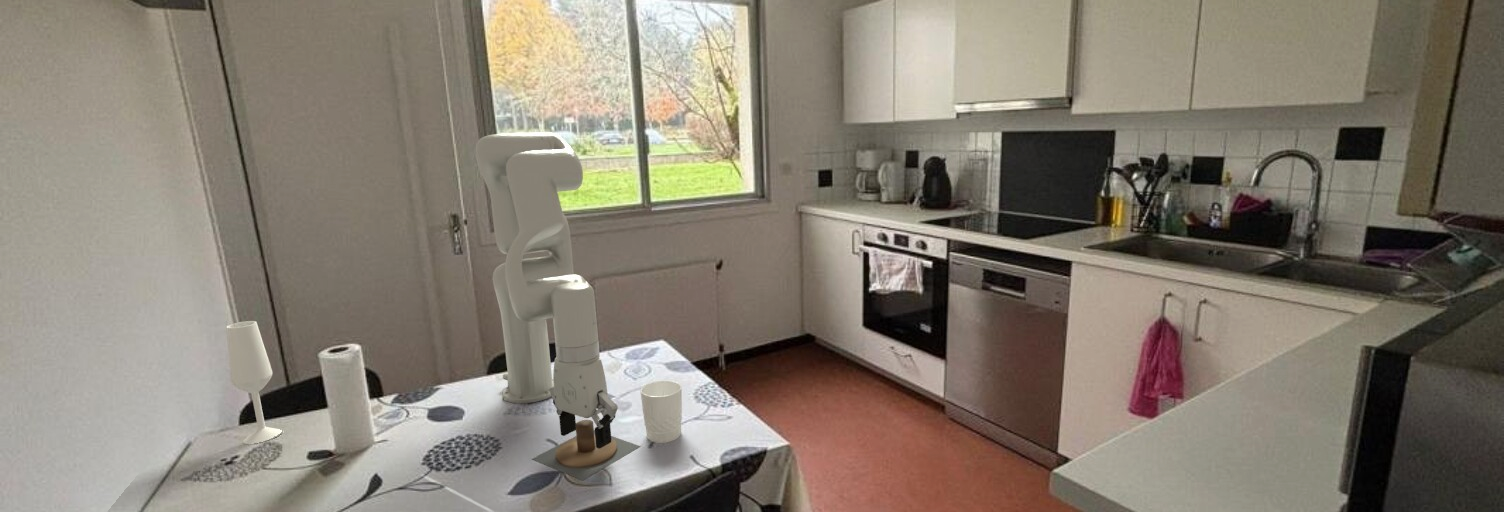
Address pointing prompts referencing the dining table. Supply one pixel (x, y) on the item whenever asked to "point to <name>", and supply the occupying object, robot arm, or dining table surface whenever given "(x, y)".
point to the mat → (585, 472)
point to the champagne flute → (250, 371)
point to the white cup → (662, 410)
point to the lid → (584, 448)
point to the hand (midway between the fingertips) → (586, 438)
